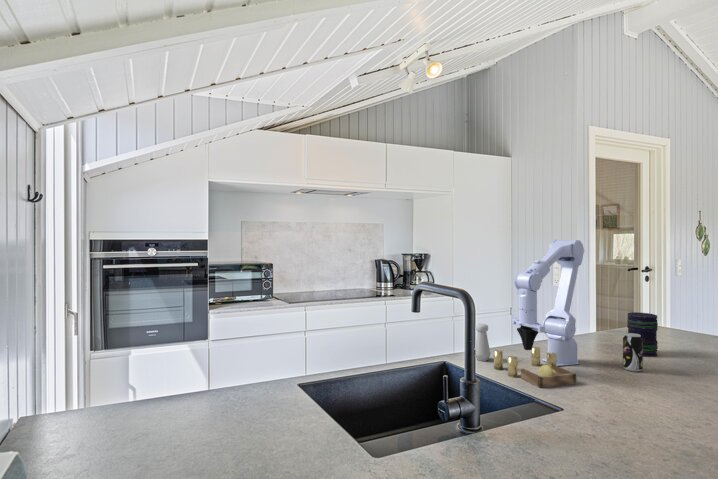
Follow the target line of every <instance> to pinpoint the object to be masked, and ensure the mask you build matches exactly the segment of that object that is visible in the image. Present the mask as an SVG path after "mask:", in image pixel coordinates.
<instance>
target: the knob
mask: <svg viewBox="0 0 718 479" xmlns="http://www.w3.org/2000/svg"><path fill="white" fill-rule="evenodd" d="M537 375H538V376H540V377H541V376H550V375H557V374H556V372H555V371H554V370H552V369H551V367H550V366H548V365H547V364H543V365H540V366H539V369H538V373H537Z"/></svg>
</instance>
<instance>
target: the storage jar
mask: <svg viewBox="0 0 718 479" xmlns="http://www.w3.org/2000/svg"><path fill="white" fill-rule="evenodd" d="M658 324H659V323H658V315H657V314H655V313H650V312H649V313H647V312H633V311H632V312H627V319H626V325H627V326H626V327H627V333H634V334H639V335H641V338H642V340H643V358H644V357H645V358H655V357H658V347H659V346H658V344H659V343H658V340H657V336H658V335H657V332H658V329H659V328H658Z"/></svg>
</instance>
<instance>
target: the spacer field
mask: <svg viewBox="0 0 718 479" xmlns="http://www.w3.org/2000/svg"><path fill="white" fill-rule="evenodd" d="M530 351H531V352H530V353H531V354H530V358H531V359H530V363H531V364H530V365H531V366H534V367H541V347H539V346H533V347H532V350H530ZM546 358H547V362H546V365H548V366H550V367H551V369H552V370H553V366H557V354H556V353H548V352H546ZM493 369H494V370H497V371H502V370H504V350H501V349H494V350H493ZM507 376H508V377H509V378H518V357H517V356H515V355H508V356H507Z"/></svg>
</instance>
